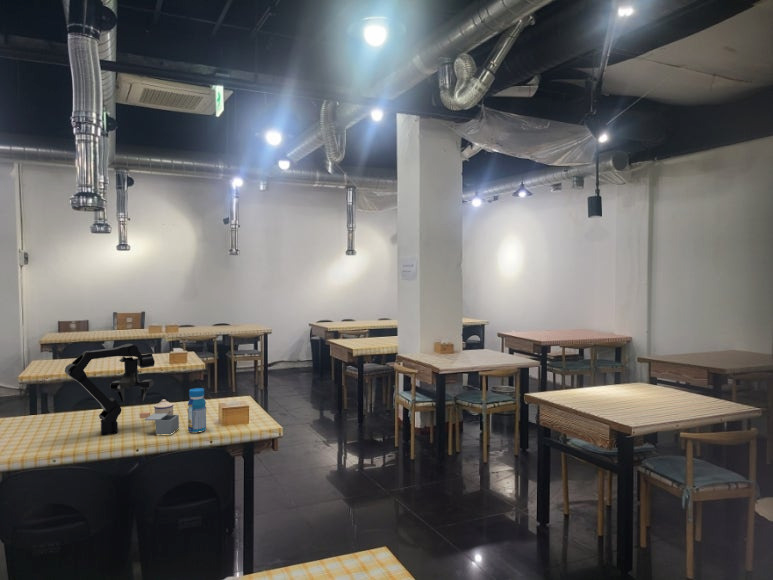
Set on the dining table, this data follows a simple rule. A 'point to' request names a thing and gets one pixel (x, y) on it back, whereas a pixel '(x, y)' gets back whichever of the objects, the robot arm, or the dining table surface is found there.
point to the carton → (167, 424)
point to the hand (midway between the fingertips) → (132, 401)
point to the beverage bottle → (196, 410)
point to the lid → (152, 416)
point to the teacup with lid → (164, 408)
